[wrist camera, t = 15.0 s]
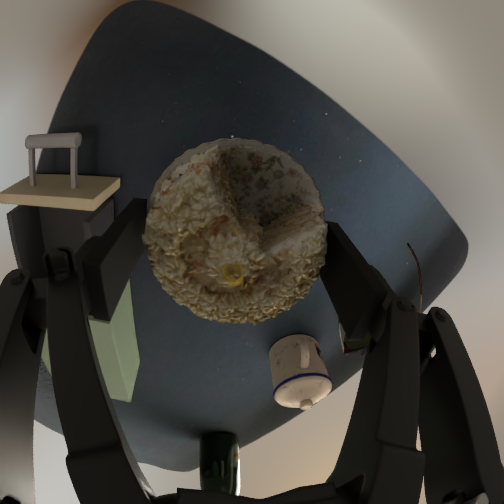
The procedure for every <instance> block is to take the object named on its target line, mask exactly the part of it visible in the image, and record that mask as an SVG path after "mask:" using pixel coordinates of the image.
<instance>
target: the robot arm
mask: <svg viewBox="0 0 504 504" xmlns="http://www.w3.org/2000/svg"><path fill="white" fill-rule="evenodd" d="M146 218H147V199H140V198H134V199H133V200H132V201H131V202H130V203H129V204H128V205H127V206H126V208H125V209H124V210H123V211H122V212H121V213H120V215H119V216H118V217H117V218H116V219H115V220H114V222H113V223H112V224H111V225H110V226H109V228H108V229H107V230H106V231H105V233H104V234H103V235H102V236H93V237H91V238H89V239H87V240H86V241H85V242H84V243H83V245H82V246H81V247H80V248H79V249H78V251H77V252H76V253H75V254H74V251H73V249H71V248H70V247H66V246H59V247H55V248H51V249H50V250H48V251H46V252H45V253H44V254H43V256H42V261H43V265H44V270H45V274H46V278H40V279H32V278H31V274H30V272H29V271H28V270H27V269H22V268H21V269H15V270H12V271H11V272H10V273H8V274H7V275H6V276H5V278H4V279H3V281H2V283H1V285H0V504H35V484H34V468H33V424H34V408H35V397H36V388H37V380H38V373H39V366H40V360H41V355H42V349H43V344H44V339H45V335H46V330H47V336H48V348H49V358H50V366H51V374H52V381H53V387H54V393H55V398H56V403H57V408H58V413H59V417H60V422H61V426H62V430H63V433H64V437H65V441H66V444H67V448H68V455H67V457H66V465H67V469H68V473H69V475H70V478H71V481H72V484H73V487H74V489H75V492H76V494H77V497H78V499H79V501H80V504H418V503H419V498H420V493H421V488H422V482H423V475H424V486H425V497H426V502H427V504H504V467H503V465H502V463H501V460H500V454H499V450H498V445H497V441H496V437H495V433H494V429H493V425H492V422H491V418H490V414H489V411H488V408H487V405H486V401H485V399H484V396H483V393H482V390H481V387H480V384H479V381H478V378H477V376H476V373H475V370H474V368H473V366H472V363H471V360H470V358H469V356H468V353H467V351H466V348H465V346H464V344H463V342H462V339H461V337H460V335H459V333H458V331H457V329H456V327H455V324H454V322H453V320H452V318H451V317H450V315H449V314H448V313H447V312H446V311H445V310H443V309H442V308H439V307H432V308H431V309H430V310H429V312H428V314H423V313H419V312H417V309H416V307H415V306H414V304H413V303H411V302H410V301H409V300H407V299H405V298H402V297H397V296H396V294H395V293H394V291H393V290H392V289H391V287H390V286H389V284H388V283H387V282H386V280H385V279H384V278H383V276H382V275H381V273H380V272H379V271H378V270H377V269H376V268H374V267H373V266H372V265H369V264H368V263H367V261H366V260H365V259H364V257H363V256H362V255H361V253H360V252H359V251H358V249H357V248H356V247H355V245H354V244H353V243H352V241H351V240H350V239H349V237H348V236H347V235H346V234H345V232H344V231H343V230H342V228H341V227H340V226H339V225H338V223H334V222H328V221H325V222H326V223H327V224H328V225H327V230H328V231H327V234H326V235H327V236H326V240H327V244H328V246H327V254H325V265H324V266H321V268H320V269H319V270H320V271H319V272H318V273H319V275H320V277H321V279H322V281H323V284H324V286H325V288H326V290H327V292H328V295H329V297H330V299H331V301H332V303H333V306H334V308H335V310H336V313H337V315H338V317H339V319H340V322H341V324H342V326H343V329H344V331H345V333H346V336H347V338H348V340H363V339H364V337H365V335H366V333H367V332H368V330H369V332H370V334H371V338H370V340H369V342H368V343H367V345H366V347H365V348H364V350H363V351H362V353H361V355H364V353H365V352H366V355H365V360H364V365H363V370H362V374H361V379H360V383H359V388H358V392H357V396H356V400H355V404H354V408H353V411H352V415H351V419H350V422H349V426H348V429H347V433H346V436H345V439H344V442H343V446H342V448H341V452H340V455H339V457H338V460H337V463H336V466H335V468H334V470H333V472H332V474H331V475H330V476H329V478H328V479H327V480H326V482H325V483H322V484H316V485H310V486H303V487H298V488H295V489H292V490H289V491H287V492H284V493H281V494H278V495H274V496H271V497H268V498H264V499H255V498H249V497H244V496H239V495H234V494H229V493H225V492H221V491H211V490H195V489H184V488H177V493H173V494H167V495H162V496H158V497H156V496H155V494H154V492H153V490H152V489H151V487H150V485H149V483H148V482H147V480H146V478H145V477H144V475H143V473H142V472H141V470H140V467H139V466H138V463H137V461H136V459H135V457H134V455H133V453H132V451H131V449H130V446H129V444H128V442H127V440H126V437H125V435H124V432H123V430H122V428H121V425H120V423H119V420H118V417H117V415H116V412H115V410H114V407H113V404H112V401H111V398H110V395H109V392H108V389H107V386H106V383H105V380H104V377H103V374H102V370H101V367H100V363H99V360H98V356H97V352H96V349H95V345H94V341H93V336H92V332H91V328H90V323H89V319H88V314H89V312H90V310H91V309H92V313H93V317H94V319H98V320H103V321H109V322H110V321H111V319H112V316H113V314H114V312H115V309H116V307H117V305H118V302H119V300H120V298H121V296H122V293H123V291H124V289H125V287H126V285H127V282H128V280H129V278H130V276H131V274H132V272H133V270H134V268H135V266H136V264H137V261H138V259H139V257H140V255H141V253H142V251H143V249H144V247H145V244H143V240H142V234H144V233H145V226H146ZM434 348H436V354H435V356H434V357H433V358H432V357H431V353H432V351H433V350H434ZM418 426H419V433H420V440H421V450H422V451H418V450H417V449H416V440H417V430H418Z"/></svg>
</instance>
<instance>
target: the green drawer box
mask: <svg viewBox="0 0 504 504" xmlns="http://www.w3.org/2000/svg"><path fill="white" fill-rule="evenodd" d="M88 319H89V323H90V328H91V332H92V336H93V341H94V345H95V349H96V352H97V356H98V360H99V363H100V367H101V370H102V374H103V377H104V380H105V383H106V386H107V389H108V392H109V395H110V398H113V399H117V400H122V401H127V402H131V398H132V393H133V388H134V384H135V380H136V375H137V371H138V367H139V363H140V359H139V353H138V347H137V340H136V333H135V326H134V318H133V310H132V301H131V290H130V279H129V280H128V282H127V285H126V287H125V289H124V291H123V293H122V296H121V298H120V300H119V302H118V305H117V307H116V309H115V312H114V314H113V316H112V319H111V321H110V322H109V321H103V320H98V319H94V317H93V316H91V315H88ZM41 357H42V359H43V361H44V363H45V365H46V367H47V369H48V371H49V373H50V374H51V366H50V358H49V348H48V336H47V330H46V335H45V339H44V344H43V349H42V355H41ZM51 376H52V374H51Z"/></svg>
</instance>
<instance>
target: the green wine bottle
mask: <svg viewBox="0 0 504 504" xmlns="http://www.w3.org/2000/svg"><path fill="white" fill-rule="evenodd" d="M200 486H201V490H211V491H221V492H225V493H229V494H234V495H239V490H240V469H239V445H238V439H237V437H236V436H234V435H232V434H229V433H223V432H212V433H207V434H204V435H202V436H201V438H200Z"/></svg>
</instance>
